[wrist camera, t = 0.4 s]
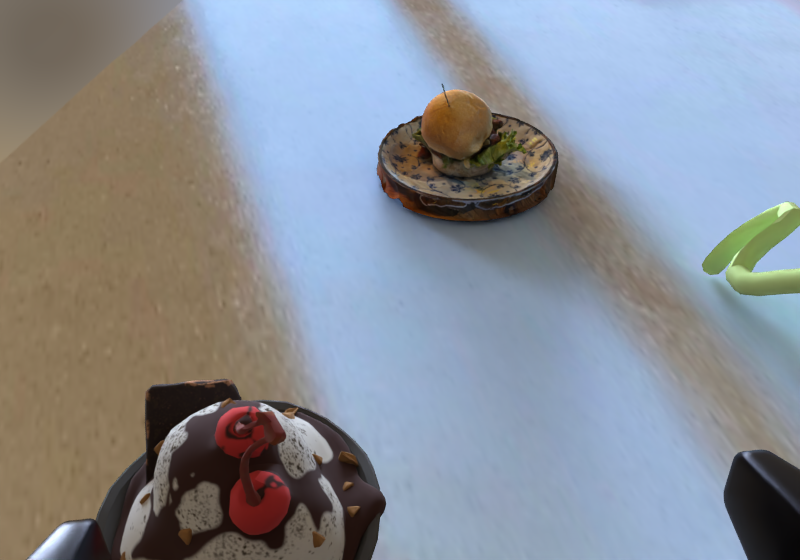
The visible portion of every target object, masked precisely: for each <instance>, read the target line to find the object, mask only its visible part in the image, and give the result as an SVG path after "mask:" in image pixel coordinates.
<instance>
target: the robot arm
mask: <svg viewBox="0 0 800 560" xmlns="http://www.w3.org/2000/svg"><path fill="white" fill-rule="evenodd" d="M724 503H725V506H726V509H727V512H728V514H729V516H730V519H731V521H732V523H733V526H734V528H735V530H736V533H737V535H738V537H739V540H740V542H741V544H742V547H743V549H744V551H745V554H746V556H747V558H748V560H800V469H798V468H796V467H795V466H793V465H791V464H790V463H788V462H787V461H785V460H783V459H782V458H780V457H778V456H777V455H775V454H773V453H771V452H770V451H767V450H753V451H743V452H739V453H738V454H737V455H736V456H735V457H734V459H733V462H732V465H731V469H730V472H729V475H728V479H727V482H726V485H725V489H724ZM26 560H112V558H111V555H110V552H109V550H108V547H107V544H106V542H105V539H104V537H103V534H102V531H101V529H100V526H99V524H98V522H97V521H95V520H94V519H83V520H73V521H66V522H64V523H62V524H61V525H59V526H58V527H57V528H56V529H55V530H54V531H53V532H52V533H51V534H50V535H49V536H48V537H47V538H46V539H45V540H44V541H43V542H42V543H41V545H40V546H39V547H38V548H37V549H36V550H35V551H34V552H33V553H32V554H31V555H30V556H29V557H28V558H27V559H26Z"/></svg>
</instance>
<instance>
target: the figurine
mask: <svg viewBox="0 0 800 560" xmlns="http://www.w3.org/2000/svg"><path fill="white" fill-rule="evenodd" d="M799 225H800V208H799V207H798V206H797V205H796V204H795V203H792V202H785V203H782V204H780V205H778V206H775V207H773V208H770V209H768V210H766V211H765V212H763V213H761V214H759V215H758V216H756V217H754V218H752V219H751V220H749V221H747V222H745V223H744V224H743V225H741V226H740V227H738V228H737V229H736V230H734V231H733V232H731V233H730V234H729V235H728V236H727V237H726V238H725V239H723V240H722V241H721V242H720V243H719V244H718V245H717V246H716V247H715V248H714V249H713V250H712V252H711V253H710V254H709V255H708V256H707V257H706V258H705V260H704V262H703V264H702V267H703V271H704V272H706V273H708V274H709V275H714V274H719V273H720V272H721V271H722V270H724V269H725V267H726V266H727V265H728V264H729V263H730V262H731V263H730V265H729V267H728V269H727V271H726V280H727V281H728V282H729V284H730V285H731V286H732V287H733V289H734V290H735V291H737V292H738V293H740V294H743V295H754V296H765V295H776V294H791V293H800V268H799V269H787V270H777V271H770V272H762V273H752V270H753V268H754V267H755V265H756V263H757V262H758V261H759V260H760V259H761V258H762V257H763V256H764V255H765V254H766V253H767V252H768V251H769V250H770V249H771V248H773V247H774V246H775V245H777V244H778V243H779V242H781V241H782V240H783V239H785V238H786V237H787V236H788V235H790V234H791V233H792V232H793V231H794V230H795V229H796V228H797V227H798V226H799Z"/></svg>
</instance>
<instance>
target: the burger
mask: <svg viewBox="0 0 800 560" xmlns="http://www.w3.org/2000/svg"><path fill="white" fill-rule="evenodd" d="M442 87H443V90H444V86H443V84H442ZM379 148H380V149H379V152H378V161H379V162H378V165H377V176H378V175H379V178H380V180H381V184H382V188H383V190H384V192H386V193H387V194H388V195H389V197H390V198H392V199H396V198H399V199H400V201H401V202H402V203H403V207H405V208H407V209H409V210H412V211H414V212H416V213H420V214H423V215H426V216H430V217H434V218H440V219H447V220H457V221H458V220H459V221H482V220H492V219H498V218H503V217H508V216H512V215H515V214H518V213H521V212H524V211H526V210H528V209H530V208H532V207H534V206H535V205H537V204H539V203H540V202H541V201H542V200H544V199H545V198H546V197H547V195H548V193H549V191H550V190H552V189H553V187H554V183H555V178H556V172H557V167H558V152H557V150H556V148H555V146H554V144H553V143H552V142H551V140H550V139H548V138H547V137H546V136H545V135H544V134H543V133H542V132H541V131H540V130H538V129H537V128H535V127H533V126H532V125H530V124H528V123H525V122H523V121H520V120H519V119H517V118H513V117H509V116H505V115H501V114H496V113H491V110H490V109H489V107H488V106H487V104H486V103H485V102H484V101H483V100H482V99H481V98H479V97H478V96H476V95H475V94H473V93H470V92H467V91H464V90H450V91H446V92H445V90H444V92H443V93H441V94H439V95H437V96H436V97H435V98H434V99H432V100H431V101H430V103H429V104H428V105H427V107H426V109H425V111H424V113H423V115H422V116H416V118H414V119H412V121H410V122H408V123H406V124H403V123H402V124H400V125H399V126H398V127H397V128H395V129H392V130H390V131H389V133H387V135H386V136H385V138H384V139H383V140H382V143H381V145H380V146H379Z"/></svg>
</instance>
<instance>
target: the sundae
mask: <svg viewBox="0 0 800 560" xmlns="http://www.w3.org/2000/svg"><path fill="white" fill-rule="evenodd" d="M145 430H146V452H145V453H143V454H142V455H141V456H140V457H139V458H138V459H137V460H136V461H134V462H133V463H132V464H131V465H130V466H129V467H128V468H127V469H126V470H125V471H124V472H123V473H122V475H121V476H120V477H119V478H118V479H117V480H116V482H115V483H114V484H113V485H112V486H111V487H110V489H109V491H108V493H107V495H106V497H105V499H104V501H103V503H102V505H101V507H100V509H99V511H98V514H97V518H96V521H97V522H98V524H99V526H100V529H101V531H102V534H103V537H104V539H105V542H106V544H107V547H108V550H109V552H110V555H111V558H112V560H371V558H372V555H373V552H374V549H375V546H376V543H377V540H378V531H379V522H380V517H381V515H382V514H383V512H384V510H385V506H386V501H385V497H384V496H383V494H382V492H381V491H380V487H379V484H378V481H377V477H376V474H375V471H374V468H373V466H372V464H371V462H370V460H369V458H368V456H367V454H366V453H365V452H364V451H363V449H362V448H361V447H360V446H359V445H358V444H357V443H356V441H354V440H353V439H352V438H351V437H350V436H349V435H348V434H347V433H346V432H344V431H343V430H342V429H341V428H339V427H338V426H337V425H335V424H334V423H333V422H331V421H330V420H329V419H327V418H325V417H323V416H321V415H319V414H317V413H315V412H313V411H311V410H309V409H306V408H303V407H301V406H298V405H295V404H292V403H289V402H284V401H271V400H256V401H244V400H241V397H240V395H239V392H238V389H237V388H236V386H235V384H234V383H233V381H232V380H228V379H220V380H198V381H188V382H182V383H176V384H159V385H152V386H151V387H150V388H149V389H148V390H147V391H146V393H145Z"/></svg>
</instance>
